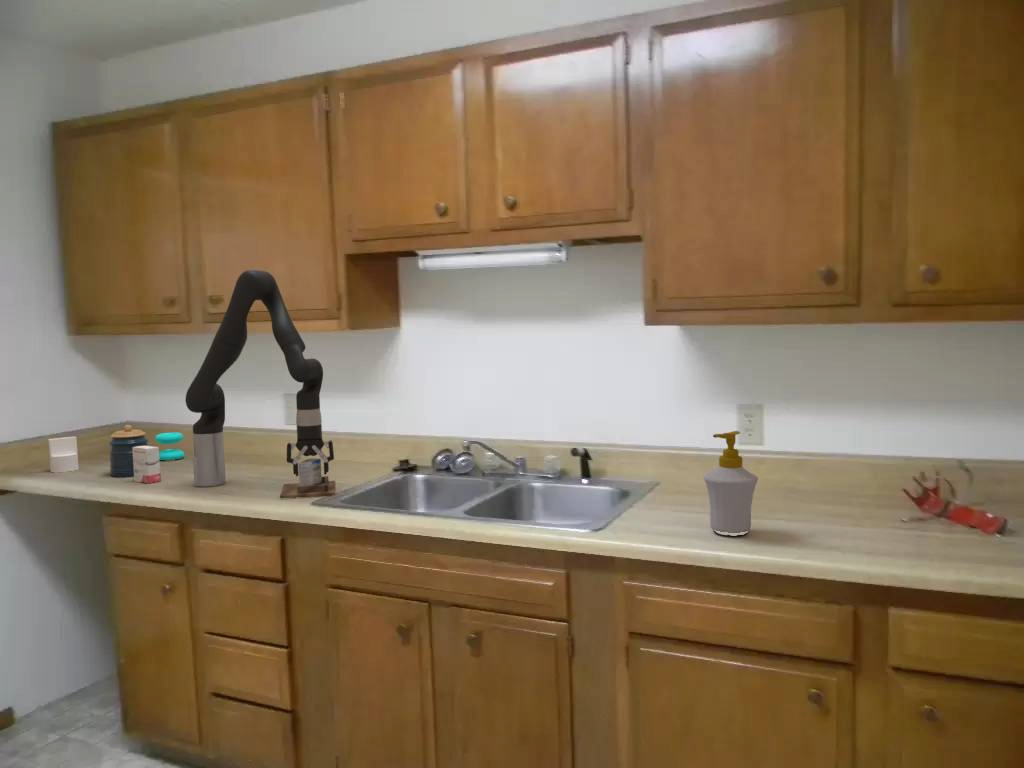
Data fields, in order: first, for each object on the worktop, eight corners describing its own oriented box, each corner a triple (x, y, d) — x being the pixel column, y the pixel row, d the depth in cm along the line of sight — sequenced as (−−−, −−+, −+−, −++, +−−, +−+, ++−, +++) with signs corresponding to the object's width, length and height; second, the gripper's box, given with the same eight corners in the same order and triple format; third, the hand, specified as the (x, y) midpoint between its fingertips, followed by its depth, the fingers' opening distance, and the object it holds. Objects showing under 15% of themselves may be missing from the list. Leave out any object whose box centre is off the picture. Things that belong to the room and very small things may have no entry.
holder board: (280, 499, 244) (279, 489, 244) (284, 486, 262) (283, 477, 262) (334, 495, 248) (334, 485, 247) (335, 483, 265) (334, 474, 265)
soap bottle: (692, 531, 200) (692, 431, 197) (729, 523, 206) (729, 426, 204) (731, 543, 189) (732, 437, 187) (769, 534, 196) (770, 432, 193)
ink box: (161, 481, 275) (159, 446, 274) (148, 483, 271) (146, 448, 270) (146, 478, 280) (144, 444, 279) (133, 481, 276) (131, 446, 275)
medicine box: (313, 490, 251) (312, 462, 250) (299, 490, 251) (298, 462, 250) (322, 485, 258) (321, 458, 258) (308, 485, 259) (307, 458, 258)
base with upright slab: (76, 467, 305) (74, 435, 304) (80, 470, 298) (78, 438, 297) (48, 470, 300) (46, 438, 299) (52, 474, 293) (50, 440, 292)
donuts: (161, 432, 323) (186, 431, 323) (163, 457, 323) (188, 456, 324) (150, 436, 313) (177, 435, 313) (152, 461, 313) (178, 461, 314)
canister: (146, 469, 299) (144, 421, 297) (154, 474, 288) (151, 424, 286) (107, 473, 291) (104, 424, 290) (113, 479, 281) (110, 428, 279)
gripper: (332, 420, 258) (334, 471, 260) (286, 422, 255) (288, 474, 257) (332, 423, 251) (334, 475, 252) (284, 426, 248) (286, 478, 249)
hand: (311, 474), depth 254 cm, fingers open, 8 cm apart
